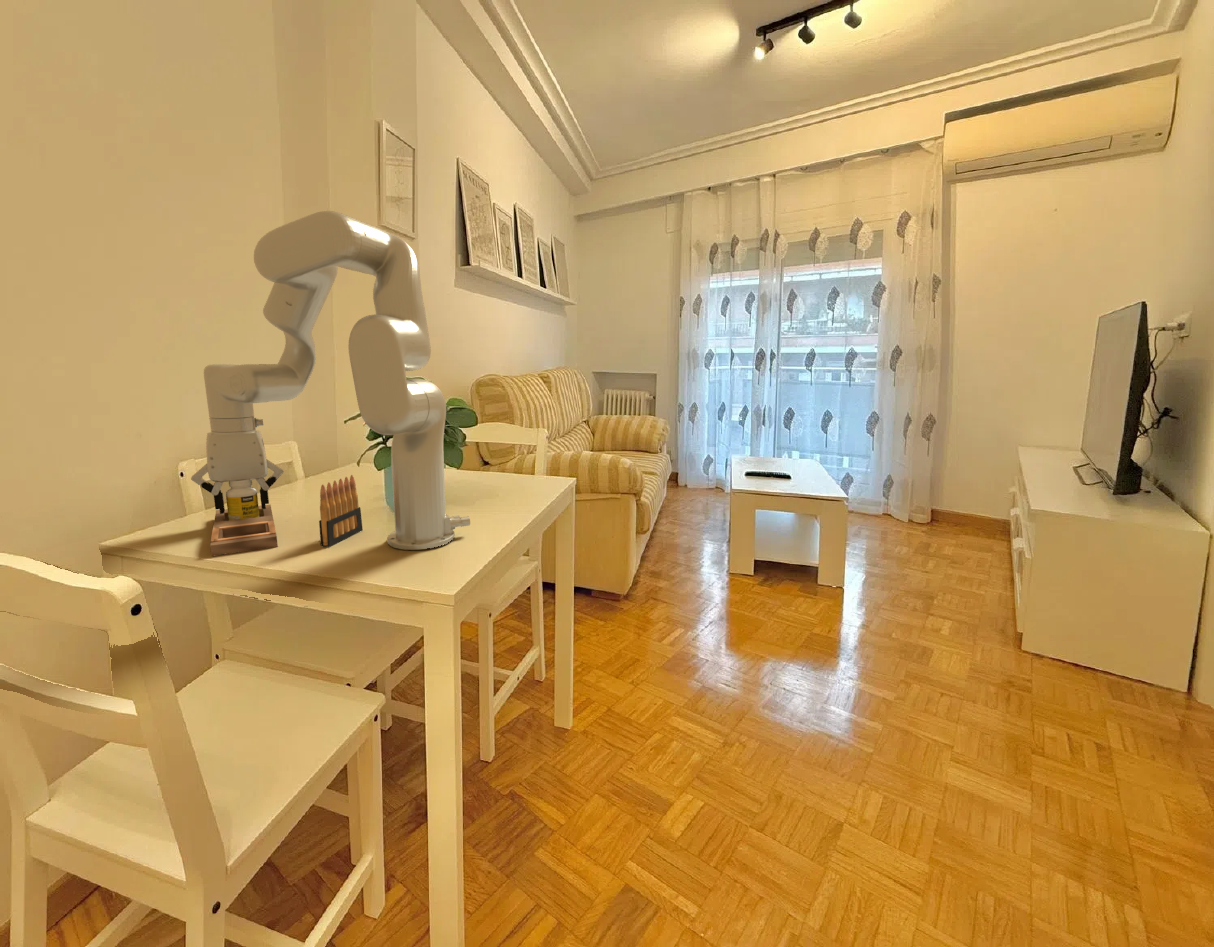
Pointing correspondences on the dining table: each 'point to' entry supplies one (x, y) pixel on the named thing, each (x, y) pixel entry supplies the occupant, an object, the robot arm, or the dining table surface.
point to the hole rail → (243, 533)
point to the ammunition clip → (339, 512)
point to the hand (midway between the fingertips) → (243, 509)
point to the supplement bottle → (242, 500)
